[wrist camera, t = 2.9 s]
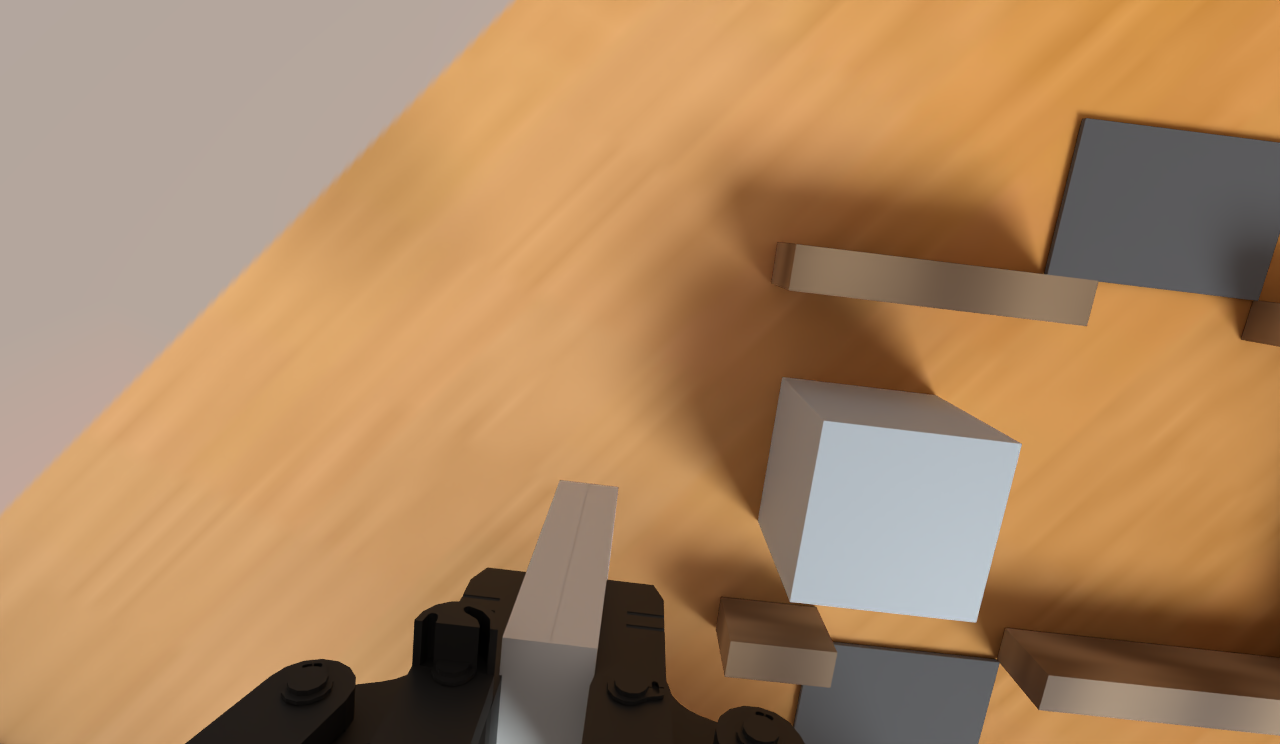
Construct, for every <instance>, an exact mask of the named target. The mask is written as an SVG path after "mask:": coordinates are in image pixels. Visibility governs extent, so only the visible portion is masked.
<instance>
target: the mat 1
mask: <svg viewBox="0 0 1280 744" xmlns="http://www.w3.org/2000/svg"><path fill="white" fill-rule="evenodd" d="M833 644H834V646H835V648H836V651H837V657H836V662H835V667H834V672H833V677H832V682H831V687H830V688H827V687H818V686H808V685H801V690H800V695H799V700H798V705H797V710H796V715H795V721H794V726H793V727H794V729H795V730H796V731H797V732H798V733H799V734H800V736H801V738H802V739H803V741H804V743H805V744H978V742H979V739H980V735H981V731H982V727H983V724H984V720H985V716H986V712H987V708H988V705H989V701H990V697H991V693H992V689H993V686H994V682H995V678H996V674H997V671H998V667H999V663H1000V662H999V661H998V660H997V659H988V658H979V657H969V656H960V655H951V654H941V653H932V652H923V651H914V650H904V649H895V648H886V647H876V646H867V645H858V644H849V643H839V642H833Z"/></svg>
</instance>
